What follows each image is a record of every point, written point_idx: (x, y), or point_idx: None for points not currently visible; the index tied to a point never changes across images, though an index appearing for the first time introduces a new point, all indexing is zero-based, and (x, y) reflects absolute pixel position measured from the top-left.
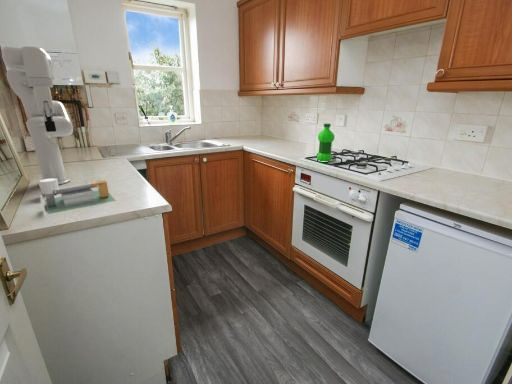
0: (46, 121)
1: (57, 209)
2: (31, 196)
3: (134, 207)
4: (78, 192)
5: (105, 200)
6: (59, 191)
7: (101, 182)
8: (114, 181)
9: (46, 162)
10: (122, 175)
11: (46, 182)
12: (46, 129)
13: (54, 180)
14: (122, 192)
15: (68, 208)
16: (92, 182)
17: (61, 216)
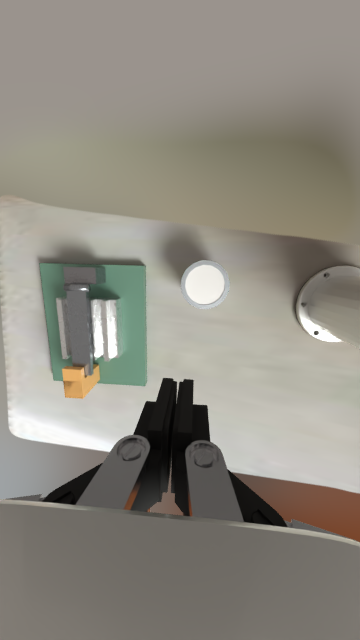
0: (127, 445)
1: (56, 281)
2: (227, 240)
3: (23, 394)
4: None
5: (64, 365)
6: (69, 297)
7: (64, 386)
8: (229, 419)
9: (357, 303)
10: (275, 449)
11: (181, 279)
12: (161, 385)
13: (187, 300)
14: (126, 406)
15: (51, 300)
16: (74, 371)
17: (41, 283)
